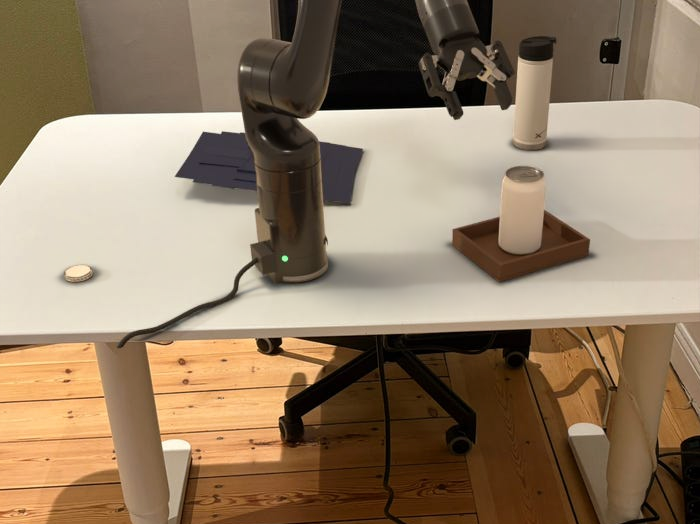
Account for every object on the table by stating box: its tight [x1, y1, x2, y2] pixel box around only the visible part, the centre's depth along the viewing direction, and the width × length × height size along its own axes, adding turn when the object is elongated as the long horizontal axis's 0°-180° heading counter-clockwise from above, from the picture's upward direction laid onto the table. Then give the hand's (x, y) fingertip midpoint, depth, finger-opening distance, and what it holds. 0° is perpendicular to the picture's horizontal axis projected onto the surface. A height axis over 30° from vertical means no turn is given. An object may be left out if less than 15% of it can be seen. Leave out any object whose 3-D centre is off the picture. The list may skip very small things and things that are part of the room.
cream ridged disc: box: [63, 264, 94, 283], centre depth 138 cm, size 4×4×1 cm
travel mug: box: [512, 35, 557, 151], centre depth 172 cm, size 6×7×20 cm
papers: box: [174, 130, 364, 204], centre depth 166 cm, size 24×30×4 cm
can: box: [499, 165, 547, 255], centre depth 139 cm, size 6×6×12 cm
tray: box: [451, 209, 591, 283], centre depth 142 cm, size 16×13×3 cm
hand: (483, 112), depth 141 cm, fingers open, 8 cm apart
